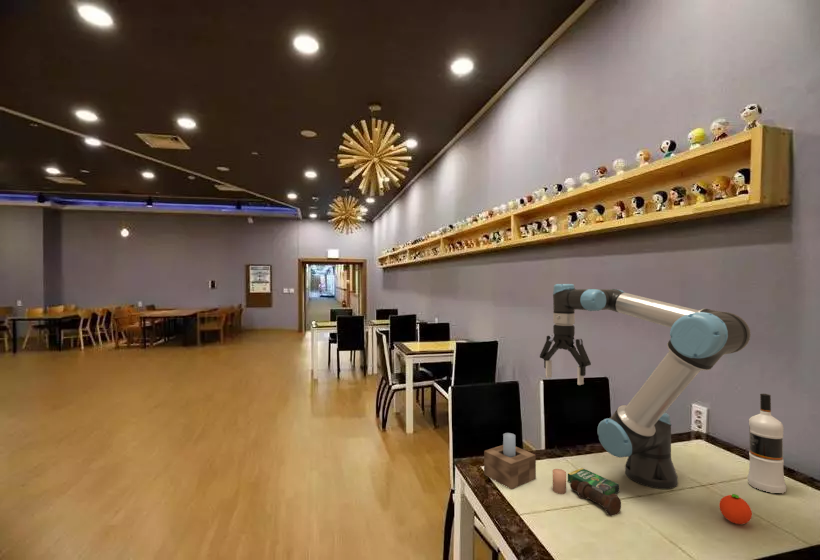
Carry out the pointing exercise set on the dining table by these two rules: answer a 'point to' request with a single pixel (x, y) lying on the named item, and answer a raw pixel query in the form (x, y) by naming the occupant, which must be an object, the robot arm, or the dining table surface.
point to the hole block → (510, 467)
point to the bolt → (597, 496)
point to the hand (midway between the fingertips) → (564, 380)
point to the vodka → (766, 450)
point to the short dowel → (559, 481)
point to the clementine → (735, 509)
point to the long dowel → (509, 445)
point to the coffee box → (594, 481)
